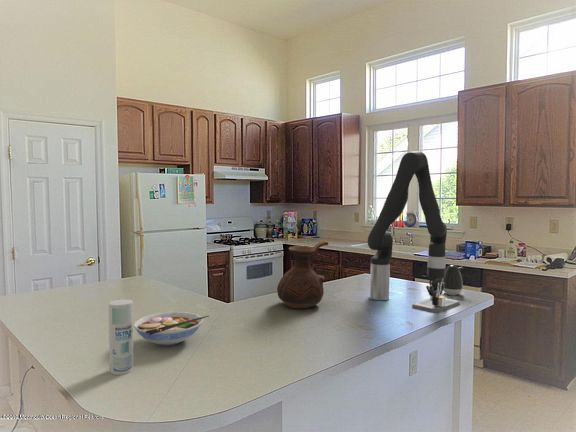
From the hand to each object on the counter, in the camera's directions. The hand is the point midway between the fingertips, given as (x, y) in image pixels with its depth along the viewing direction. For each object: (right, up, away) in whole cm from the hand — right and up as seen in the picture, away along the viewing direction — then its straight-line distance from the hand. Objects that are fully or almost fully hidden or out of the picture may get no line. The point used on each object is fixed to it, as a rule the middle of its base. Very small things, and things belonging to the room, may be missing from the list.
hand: (435, 304), depth 188 cm
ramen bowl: (-106, -4, -42) cm, 114 cm away
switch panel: (+3, -2, +8) cm, 9 cm away
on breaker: (+5, 0, +15) cm, 15 cm away
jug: (-59, -2, +7) cm, 60 cm away
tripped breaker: (+3, -1, +3) cm, 4 cm away
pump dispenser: (+20, -1, +31) cm, 37 cm away
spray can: (-114, -6, -65) cm, 131 cm away
